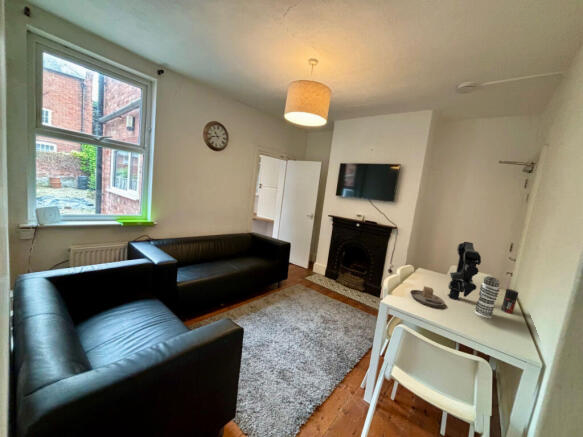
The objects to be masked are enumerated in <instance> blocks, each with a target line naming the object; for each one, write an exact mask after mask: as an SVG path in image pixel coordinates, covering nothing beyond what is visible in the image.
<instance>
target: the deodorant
mask: <svg viewBox="0 0 583 437" xmlns="http://www.w3.org/2000/svg"><path fill="white" fill-rule="evenodd" d="M518 296H519V292H518V291H517V290H513V289H510V288H506V290H505V294H504V298H503V300H502V301H503V302H502V305H501V308H500V310H501V311H502V312H504V313H507V314H509V315H512V314H514V311H515V307H516V303H517V299H518Z"/></svg>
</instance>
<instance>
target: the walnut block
mask: <svg viewBox="0 0 583 437" xmlns="http://www.w3.org/2000/svg"><path fill="white" fill-rule="evenodd" d="M422 291H423V293H422V295H423V297H425V298H429V299H432V296H433V295H434V289H433V288H432V287H431V286H430V287H429V286H423V289H422Z"/></svg>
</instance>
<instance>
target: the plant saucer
mask: <svg viewBox="0 0 583 437" xmlns="http://www.w3.org/2000/svg"><path fill="white" fill-rule="evenodd" d="M409 293H410V295H411V297H412V298H413V299H414V300H415V301H416V302H418V303H419V304H422V305H425V306H428V307H432V308H438V307H439V308H440V307H442V306H443V305H444V304H445V301H444V300H443V299H442V298H441V297H439V296H437V295H435V294H433V296H432V299H429V298H425V297H423V295H422V293H423V290H419V289H412V290H410V292H409Z"/></svg>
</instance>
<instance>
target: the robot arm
mask: <svg viewBox="0 0 583 437" xmlns="http://www.w3.org/2000/svg"><path fill="white" fill-rule="evenodd" d="M456 251H457V255H458V260H457V266H456V271H455V272H450V273H449V275H450V278H451V280H450V281H449V283H448V289H449V293H447V296H448V297H449V299H453V300H456V301H460V298H459V297H460V294H461V293H463V297H464V298H467V297H468V295H470V294H471V293H472V292H473V291H475V290H477V288H478V287H477V285H476V284H475V283H474V280H473V277H474V276H477V275H478V274H479V268H478V267H477V266H479V265H481V262H482V256H481V254H480V253H479V251H477V250H475V248H474V243H473V242H470V241H464V242H461V243H459V244H458V246H457V249H456Z"/></svg>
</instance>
